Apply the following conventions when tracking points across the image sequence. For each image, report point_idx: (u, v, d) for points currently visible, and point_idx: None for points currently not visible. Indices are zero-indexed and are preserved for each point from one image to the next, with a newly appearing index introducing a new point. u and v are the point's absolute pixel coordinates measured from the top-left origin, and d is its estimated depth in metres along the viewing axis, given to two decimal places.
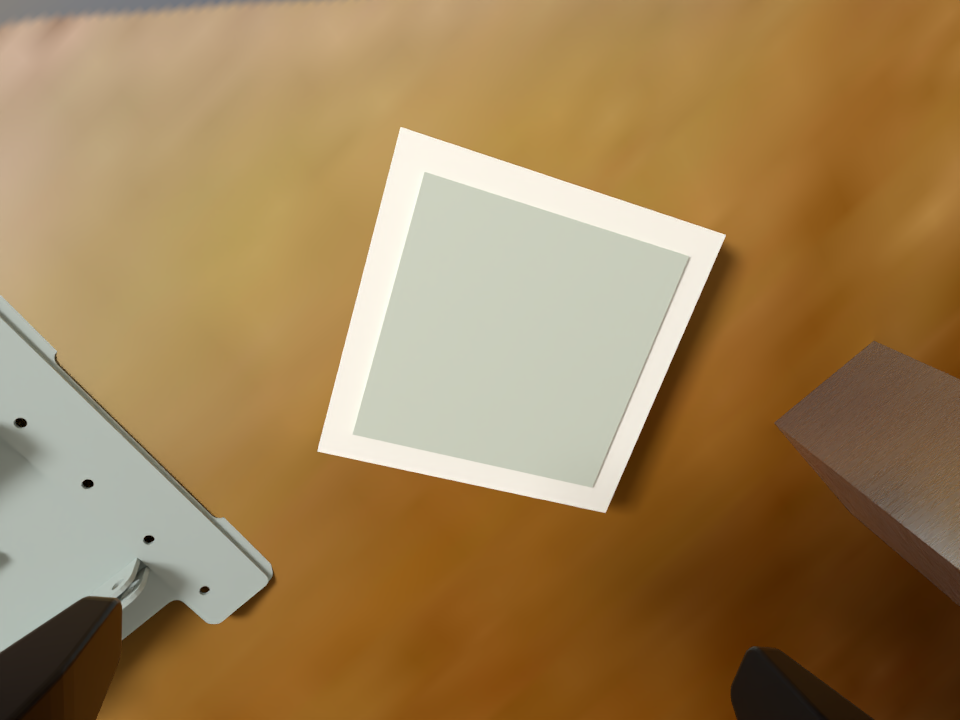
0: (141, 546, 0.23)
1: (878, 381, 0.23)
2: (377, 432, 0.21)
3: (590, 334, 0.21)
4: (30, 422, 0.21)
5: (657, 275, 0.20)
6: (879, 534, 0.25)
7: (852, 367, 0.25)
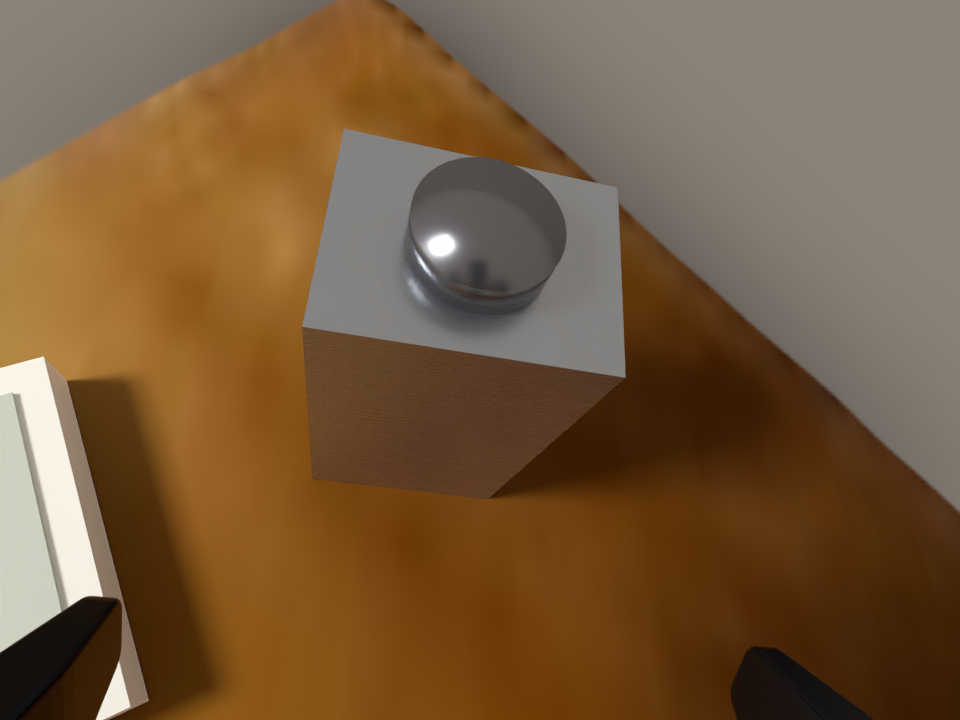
0: None
1: None
2: None
3: None
4: None
5: None
6: (479, 481, 0.21)
7: None
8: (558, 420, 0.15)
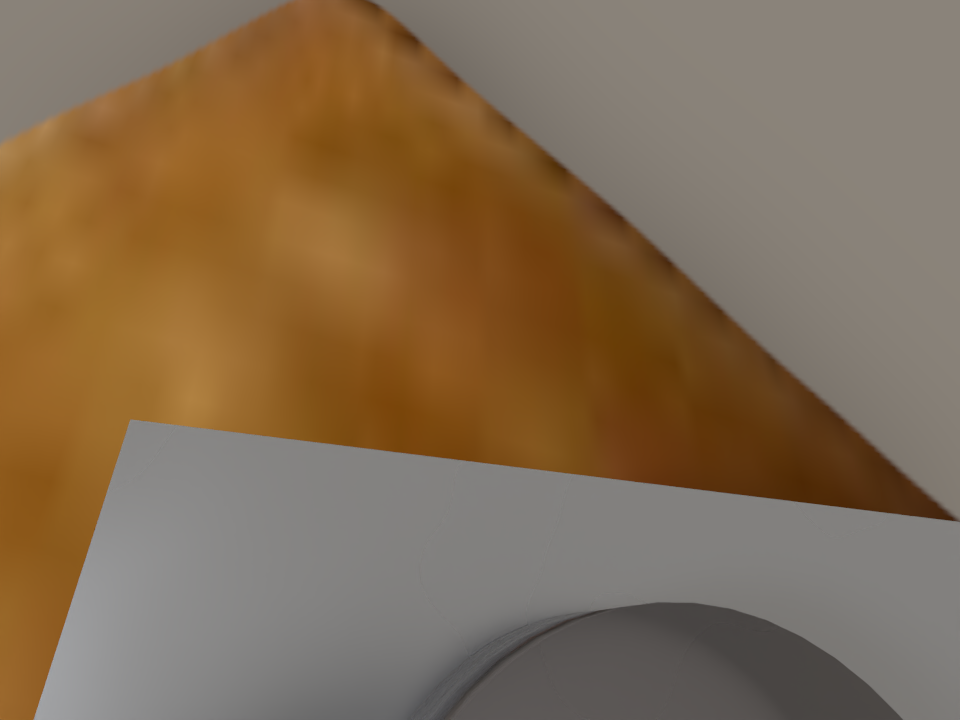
0: None
1: None
2: None
3: None
4: None
5: None
6: None
7: None
8: None
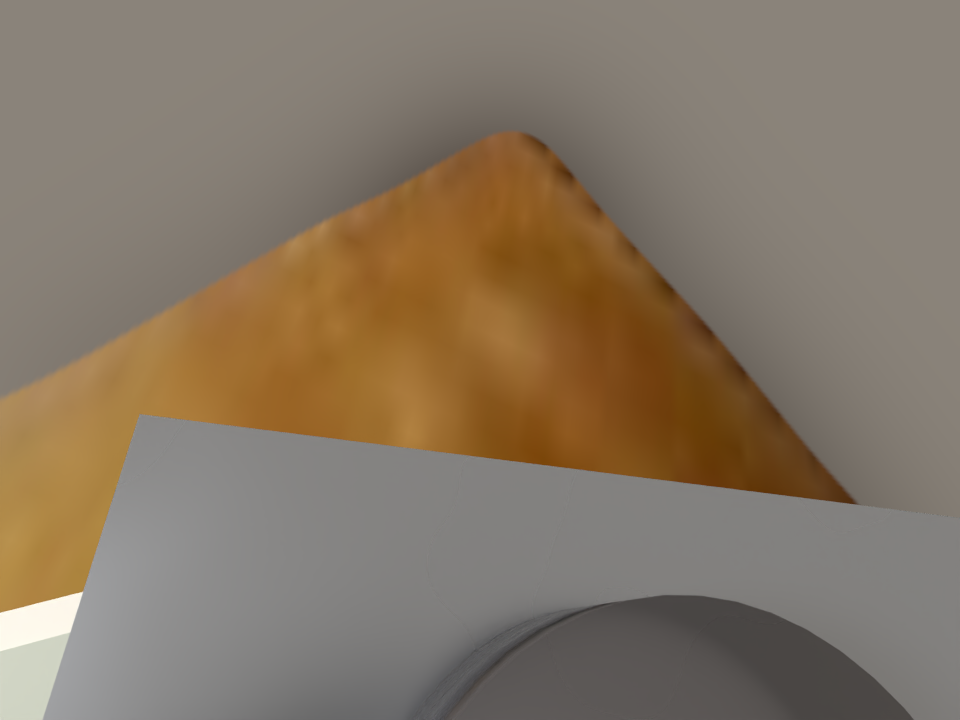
0: None
1: None
2: None
3: None
4: None
5: None
6: None
7: None
8: None
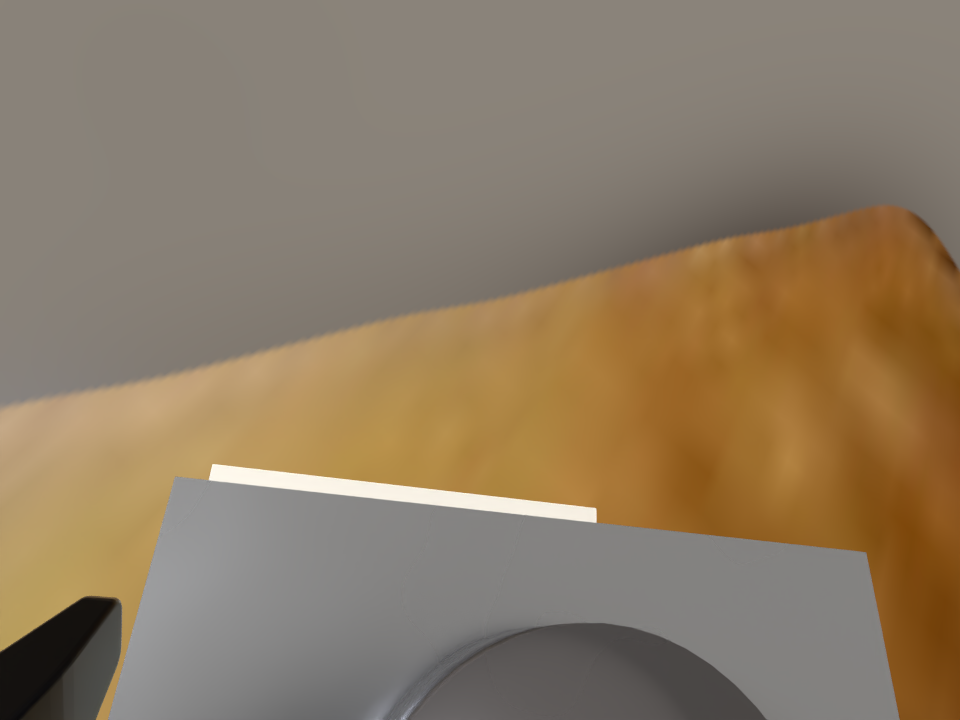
0: None
1: None
2: None
3: None
4: None
5: None
6: None
7: None
8: None
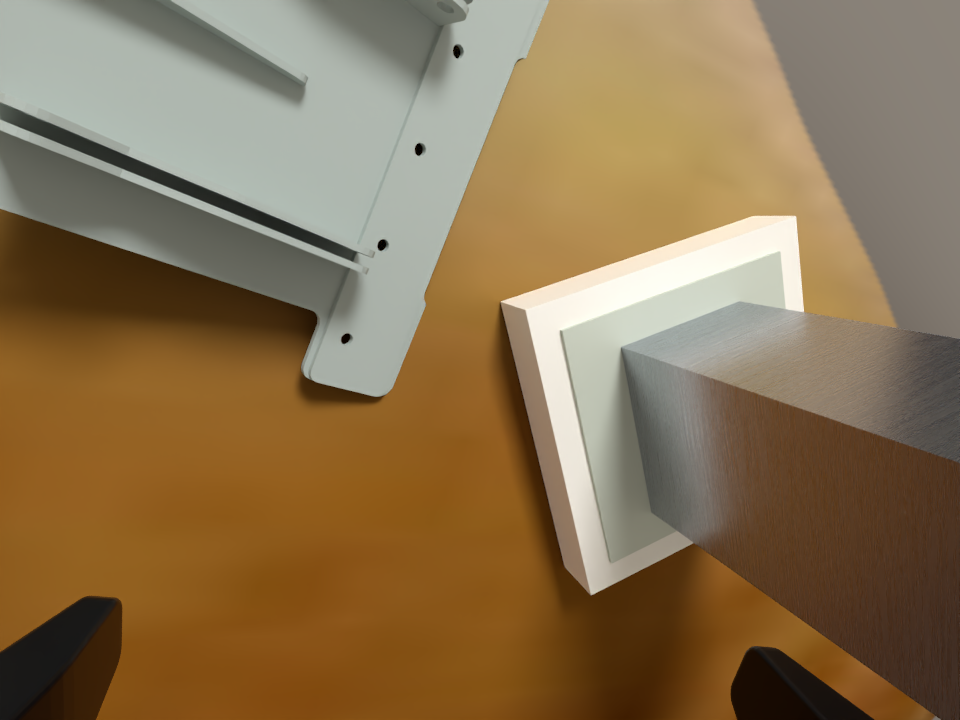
0: (374, 242, 0.18)
1: (748, 321, 0.20)
2: (574, 351, 0.20)
3: None
4: (462, 61, 0.18)
5: None
6: (691, 521, 0.20)
7: (716, 314, 0.21)
8: (889, 669, 0.14)
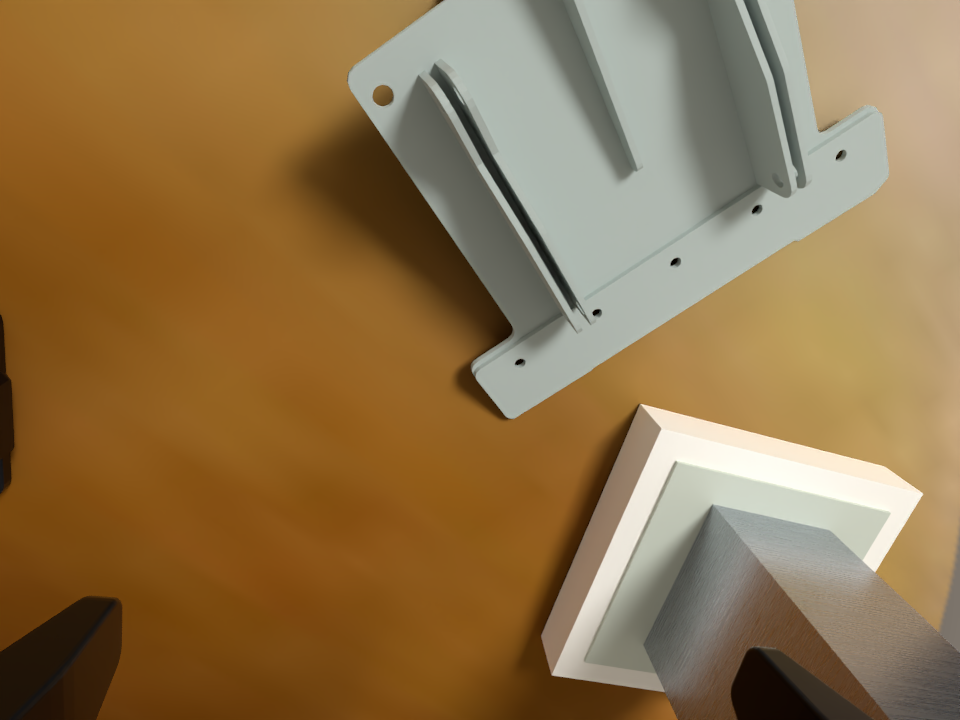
0: (593, 307, 0.20)
1: (831, 555, 0.21)
2: (675, 484, 0.21)
3: None
4: (754, 218, 0.20)
5: None
6: (677, 679, 0.21)
7: (805, 529, 0.22)
8: None
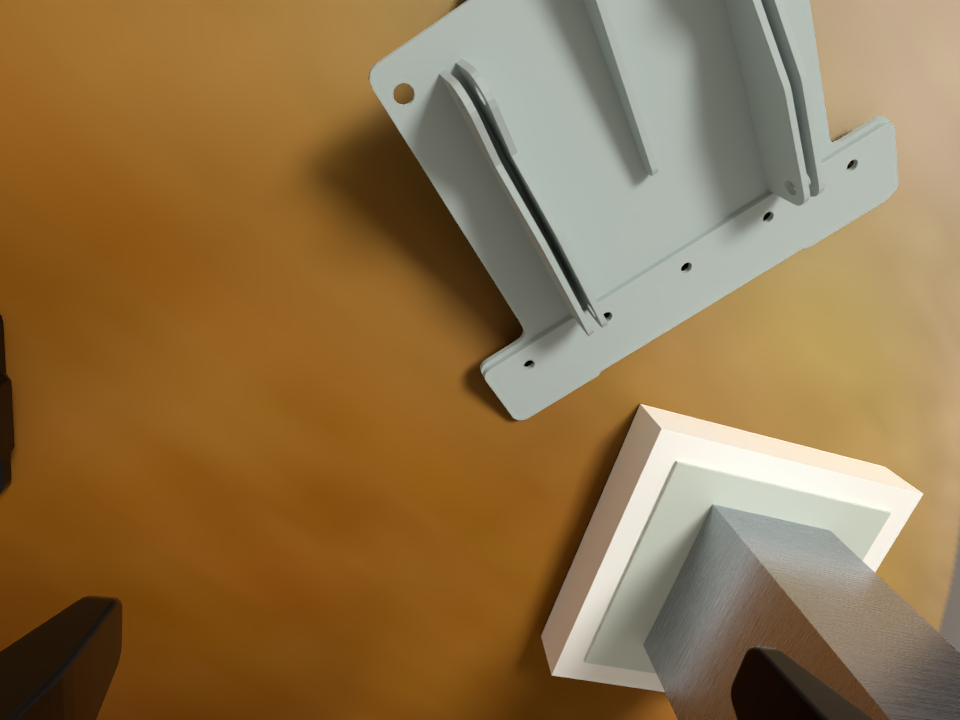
0: (603, 310, 0.20)
1: (831, 555, 0.21)
2: (675, 484, 0.21)
3: None
4: (765, 225, 0.20)
5: None
6: (677, 679, 0.21)
7: (805, 529, 0.22)
8: None
